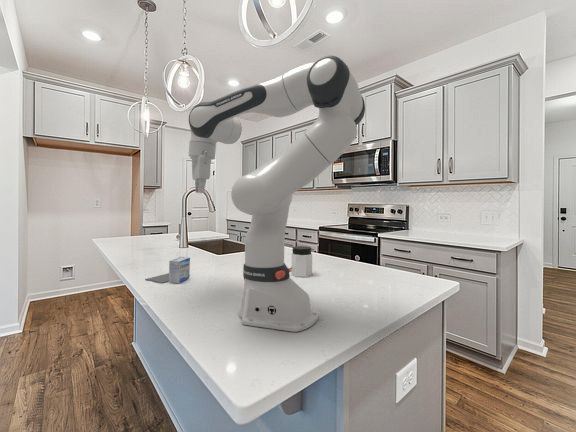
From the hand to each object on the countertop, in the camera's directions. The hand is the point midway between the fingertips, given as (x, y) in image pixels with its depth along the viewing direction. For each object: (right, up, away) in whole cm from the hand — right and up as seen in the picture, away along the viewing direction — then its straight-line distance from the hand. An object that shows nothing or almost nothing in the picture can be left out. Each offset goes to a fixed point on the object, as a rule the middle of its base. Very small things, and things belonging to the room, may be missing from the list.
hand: (199, 192), depth 103 cm
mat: (-19, -34, +20) cm, 43 cm away
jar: (+37, -34, +26) cm, 56 cm away
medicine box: (-13, -34, +15) cm, 39 cm away
